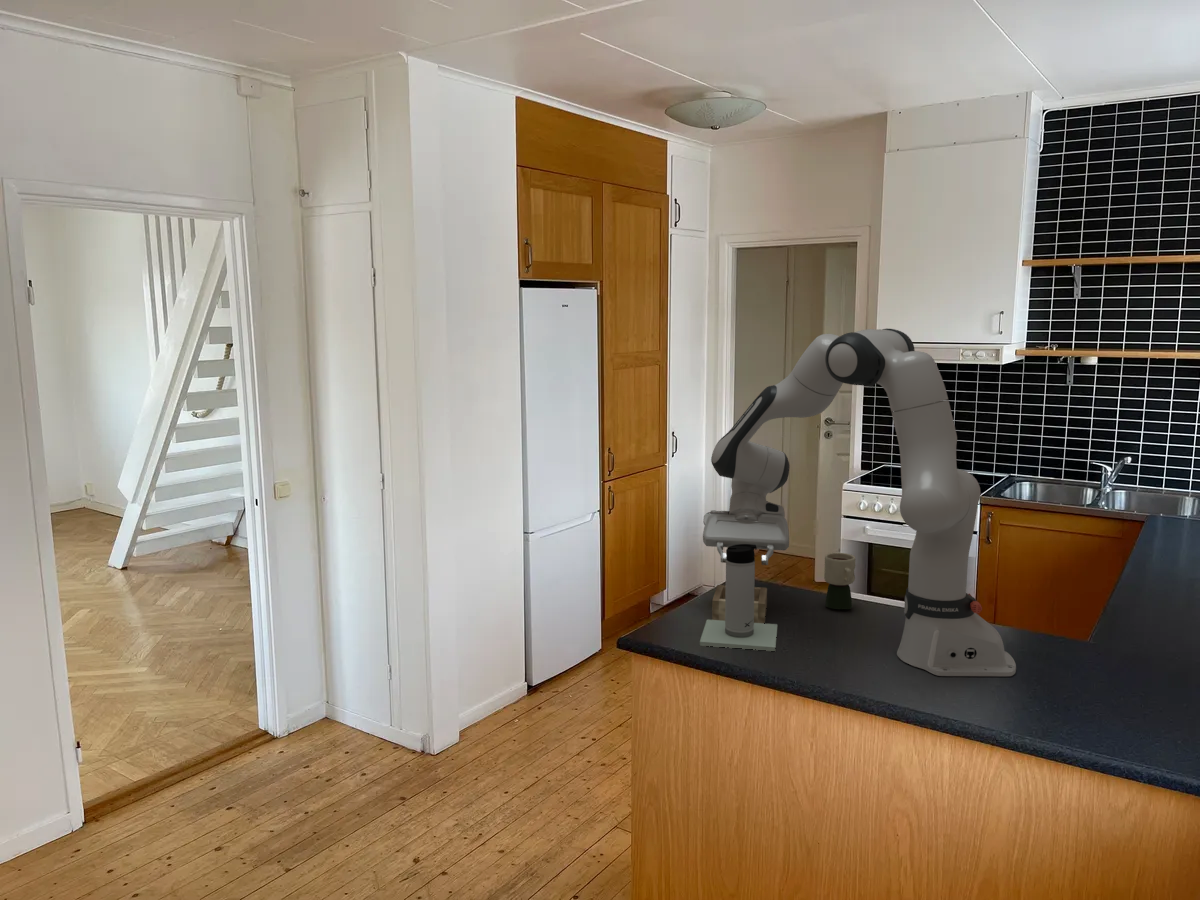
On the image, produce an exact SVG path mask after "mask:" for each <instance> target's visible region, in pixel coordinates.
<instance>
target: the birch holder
mask: <svg viewBox="0 0 1200 900" xmlns="http://www.w3.org/2000/svg"><path fill="white" fill-rule="evenodd" d="M725 595H726V584H725V585H723V584H717V585H716V588H715V592H714V595H713V598H712V600H711V601H712V603H711V605H712V606H711V607H712V609H711V613H712V614H711V615H712V616H711V620H721V621H725ZM766 608H767V609H768V587H761V586H759V587H757V586H754V623H765V624H766V617H765V616H766V615H767V609H766Z"/></svg>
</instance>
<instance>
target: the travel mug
mask: <svg viewBox="0 0 1200 900" xmlns="http://www.w3.org/2000/svg"><path fill="white" fill-rule="evenodd" d="M756 550H758V549H757V547H756V545H751V544H738V545H733V546H730V547H726V550H725V551H726V552H725V553H726V555H727V556H726V563H725V585H726V595H725V632H726V633H727V634H728V635H730V636H733V637H748V636H751V635H752V634H753V633H754V587H755V579H756V578H755V577H756V575H755V573H756V571H755V570H756V568H755V567H756V566H755V565H756V564H755V563H756V558H755V556H756V553H755V551H756Z"/></svg>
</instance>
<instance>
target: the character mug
mask: <svg viewBox="0 0 1200 900" xmlns="http://www.w3.org/2000/svg"><path fill="white" fill-rule="evenodd" d="M855 568H856V556H855V555H853V554H850V553H844V552H830V553H829V552H828V553H827V554H825V555H824V570H823V571H824V572H823V577H824V578H823V579H824V581H825V582H826V583H827V584H828V586H827V589H826V591H827V593H826V597H825V603H824V604H825V607H827V608H828V609H835V610H840V611H843V610H850V609H852V608H853V603H852V602H853V601H852V592H851V591H852V590H851V585H852V584H853V583H854V582H855V581H856V576H855Z"/></svg>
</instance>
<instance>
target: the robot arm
mask: <svg viewBox="0 0 1200 900" xmlns="http://www.w3.org/2000/svg"><path fill="white" fill-rule="evenodd" d="M843 384H845V385H846V384H847V385H853V386H864V387H873V386H875V385H876V384H877V385H879V386H881V387H882V388H883V389H884V391H885V392H886V396H887V398H888V403H889V407H890V411H891V415H892V416H891V417H892V420H893V425H894V430H895V432H896V433H895V434H896V438H897V442H898V447H899V448H898V449H899V455H900V457H899V458H900V476H901V477H900V479H901V480H900V481H901V482H900V483H901V496H900V497H901V498H900V501H899V502H900V503H899V511H900V515H901V518H902V521H904V523H905V524H906V526H908V527H909V528H911V529H912V530H914V531H916V532H915V536H914V540H913V544H912V547H911V549H910V552H909V563H908V564H909V565H908V567H909V568H908V587H907V588H906V589H905V595H904V610H903V611H904V616H905V620H904V626H903V632H902V634H901V635H902V636H901V639H900V642H899V643H900V644H899V646H898V648H897V651H896V655H897V657H898V658H899V659H900V660H901V661H902V662H904V663H906V664H909V665H910V666H912V667H915V668H919V669H922V670H925V671H927V672H929V673H930V674H933V676H934V675H935V676H939V677H1013V676H1014V675H1015V674H1016V672H1017V664H1016V662H1015V660H1014V658H1013V657H1012V655H1011V654H1010V653H1009V652H1007V651H1006V650H1005V646H1004V642H1003V638H1002V636H1001V635H1000V633H999V632H998V630H997V629H996V628H995V627H994V626H992V625H991V624H990V623H989V622H988V621H986V620H985V619H984V618H983V617H981V615H979V614H980V613H981V612H982V611H983V607H982V604H981V603H980V602H979V601H977V599H976V598H975V597H973V596H972V595H971V594H970V593H968V592H967V582H968V580H967V579H968V568H969V567H968V565H969V556H970V549H971V545H972V541H973V536H974V529H975V527H976V526H975V525H976V519H977V513H978V506H979V502H980V498H981V487H980V484H979V482H978V480H977V478H975V476H974V475H973V474H971V473H969V471H965V470H963V469H959V468H958V466H957V442H958V435H957V431H956V426H955V422H954V418H953V415H952V408H951V405H950V402H949V397H948V393H947V390H946V385H945V383H944V380H943V376H942V375H941V372H940V370H939V368H938V365H937V363H936V362H935V360H934V357H932V355H931V354H929V353H927V352H924V351H919V350H915V346H914V343H913V341H912V339H911V338H910V336H909V335H907V333H905V332H903V331H901V330H899V329H895V328H883V329H878V328H877V329H874V328H867V329H861V330H858V331H853V332H846V333H844V334H842V335H840V336H839V335H838V334H835V333H822V334H820V335H818V336H816V338H814V339H813V341H811V343H810V344H809V345H808V347H807V348H806V349H805V350H804V352H803V353H802V354H801V356H800V357H799V359H798V361H796V363H795V365H794V367H793V369H792V370H791V372H789V374H788V375H787V376H786V377H785V378H784V379H782V380H780V381H779V382H778V383H776V384H773V385H769V386H766V388H764V389H763V390H762V391H761V392H760V393H759V394H758V395H757V396H756V398H755V399H754V400H753V401H752V403H750V405H749V406H748V407H747V408H746V410H745V411H744V412H743V413H742V415H741V416H740V418H739V419H738V420H737V421H736V423H734V425H733V426H732V427H731V429H730V430H728V432H726V434H724V435H723V436H722V437H721V438H720V439H719V440H718V441H717V443H716V445H714V448H713V450H712V454H711V459H710V462H711V465H712V466H713V468H714V470H715V471H716V473H717V475H718V476H720V477H723V478H727V479H731V486H730V487H731V491H732V493H731V495H730V499H729V509H728V510H710V511H709V512H707V513H704V516H703V523H702V524H703V525H704V527H703V533H702V541H703V544H704V545H705V546H706V547H711V548H713V547H714V548H715V547H716V551H717V553H718V554H719V555H720V563H722V564H723V563H725V564H726V556H727V555H726V552H724V548H728V547H730V546H733V545H738V544H751V545H756V547H757V549H756V550H766V551H767V552H766V554H765V555H764V554H761V565H762V566H769V560H770V558H771V557H772V556H773V554H774V551H787V549H789V547H790V533H789V532H790V531H789V526H788V525H789V524H788V521H787V519H786V518H785V516H786V514H785V509H784V506H782V505H780V504H778V503H773V502H770V501H767V495H768V494H772V493H773V492H775V491H777V490H778V489H780V488H782V487H783V486H784V485H785V484H786V483H787V481H788V480H789V479H788V478H789V475H790V467H791V466H790V462H789V458H788V456H787V455H786V452H784V451H782V450H780V449H776V448H774V447H770V446H768V445H767V446H766V445H763V444H759V443H757V442H754V441H750V440H751V439H752V438H753V437H754V436H755V434H756V433H757V431H759V430H760V428H761V427H762V426H763V425H764V424H766V423H767V422H769V421H770V420H775V419H782V418H803V419H805V418H810V417H814V416H817V415H819V414H822V413H823V412H824V411H825V410H827V408H828V407H830V405H831V404H832V402H833V401H834V399H835V398H836V396H837V394H838V392H839V391H840V390H841V388H842V386H843Z"/></svg>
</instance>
